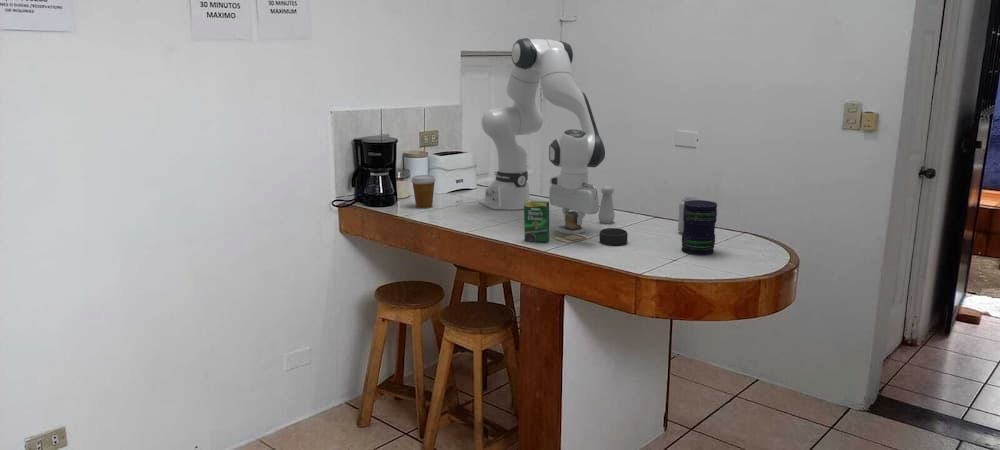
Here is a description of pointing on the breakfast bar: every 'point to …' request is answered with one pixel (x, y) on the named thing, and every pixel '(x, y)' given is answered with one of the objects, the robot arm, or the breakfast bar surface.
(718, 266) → the breakfast bar surface
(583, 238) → the card
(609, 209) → the salt shaker
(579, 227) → the stamp
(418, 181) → the disposable coffee cup
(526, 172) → the robot arm
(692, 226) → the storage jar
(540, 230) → the coffee box
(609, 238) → the smart speaker
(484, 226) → the breakfast bar surface
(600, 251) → the breakfast bar surface
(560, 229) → the ink pad
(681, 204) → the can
